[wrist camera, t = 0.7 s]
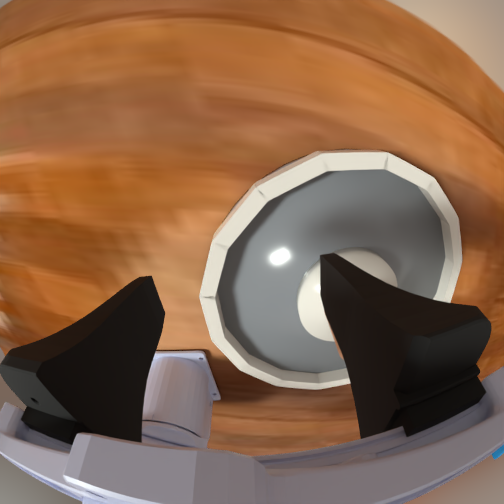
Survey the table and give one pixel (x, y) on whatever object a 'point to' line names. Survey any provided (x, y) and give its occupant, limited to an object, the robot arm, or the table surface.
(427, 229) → the groove tray
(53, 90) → the table surface
